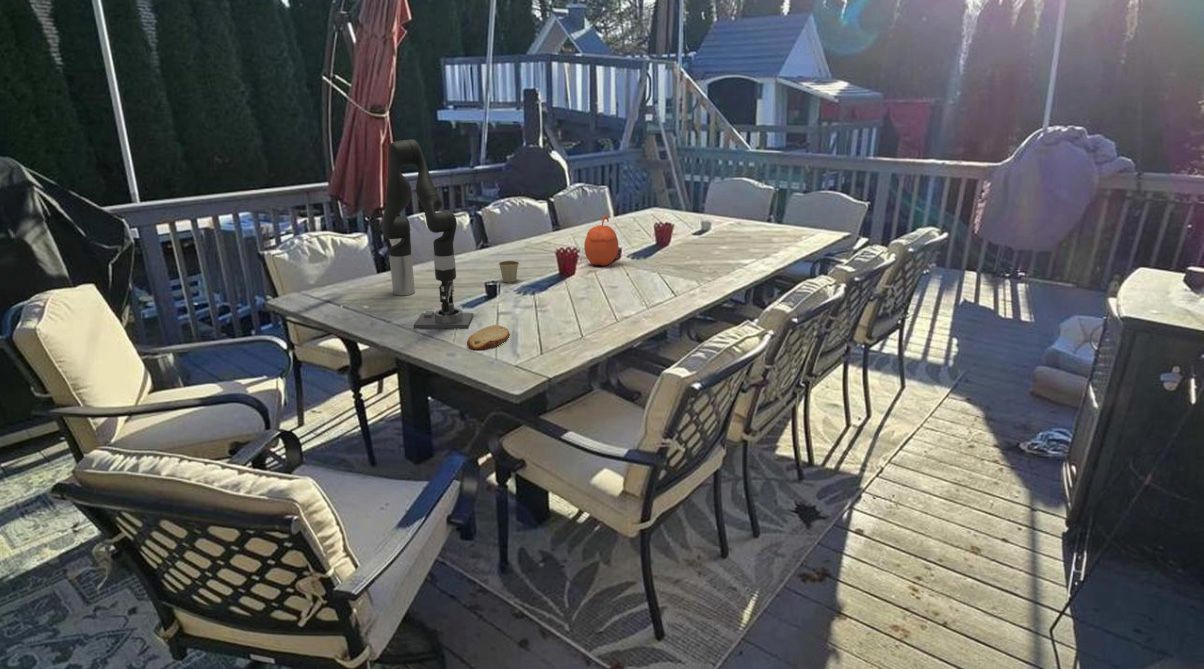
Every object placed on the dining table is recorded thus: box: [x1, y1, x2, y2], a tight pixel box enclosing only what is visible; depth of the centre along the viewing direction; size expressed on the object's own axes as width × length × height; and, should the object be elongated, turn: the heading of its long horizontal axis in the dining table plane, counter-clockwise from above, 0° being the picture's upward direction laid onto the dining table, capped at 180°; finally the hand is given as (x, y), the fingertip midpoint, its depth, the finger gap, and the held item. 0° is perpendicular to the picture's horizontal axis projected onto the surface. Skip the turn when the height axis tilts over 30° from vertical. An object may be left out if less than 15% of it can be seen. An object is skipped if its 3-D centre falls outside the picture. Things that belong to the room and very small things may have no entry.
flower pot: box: [498, 260, 520, 284], centre depth 302 cm, size 9×9×9 cm
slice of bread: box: [466, 324, 511, 352], centre depth 232 cm, size 18×18×4 cm
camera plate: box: [413, 310, 475, 330], centre depth 248 cm, size 14×20×3 cm
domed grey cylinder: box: [440, 302, 455, 315], centre depth 246 cm, size 6×5×6 cm
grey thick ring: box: [434, 307, 464, 324], centre depth 247 cm, size 10×10×3 cm
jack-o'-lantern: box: [584, 215, 619, 267], centre depth 330 cm, size 18×17×25 cm
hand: (448, 308), depth 246 cm, fingers open, 8 cm apart
